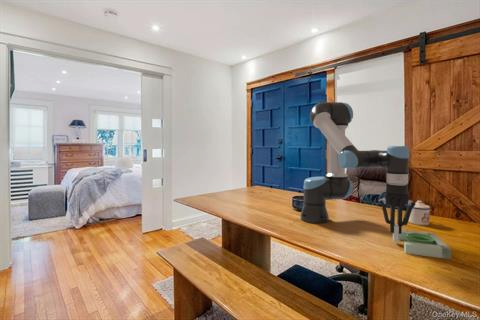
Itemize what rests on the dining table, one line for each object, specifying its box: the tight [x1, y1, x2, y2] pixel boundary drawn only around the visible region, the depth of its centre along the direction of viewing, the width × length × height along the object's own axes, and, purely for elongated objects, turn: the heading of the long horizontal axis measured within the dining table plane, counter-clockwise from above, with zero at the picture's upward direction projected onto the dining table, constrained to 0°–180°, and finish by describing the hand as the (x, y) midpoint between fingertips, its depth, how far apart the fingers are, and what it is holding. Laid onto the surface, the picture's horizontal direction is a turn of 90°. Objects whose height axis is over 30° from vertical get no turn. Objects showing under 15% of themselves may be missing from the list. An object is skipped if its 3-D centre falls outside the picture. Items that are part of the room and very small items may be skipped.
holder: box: [398, 229, 452, 260], centre depth 99 cm, size 14×18×4 cm
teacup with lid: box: [408, 200, 431, 226], centre depth 131 cm, size 12×9×12 cm
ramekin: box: [407, 233, 435, 245], centre depth 99 cm, size 9×9×4 cm
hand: (395, 240), depth 103 cm, fingers closed
